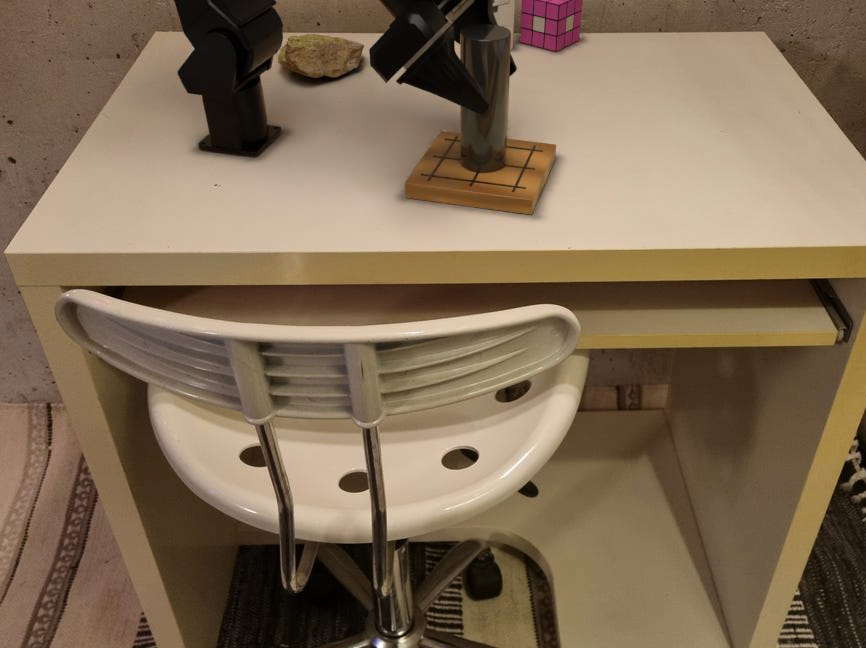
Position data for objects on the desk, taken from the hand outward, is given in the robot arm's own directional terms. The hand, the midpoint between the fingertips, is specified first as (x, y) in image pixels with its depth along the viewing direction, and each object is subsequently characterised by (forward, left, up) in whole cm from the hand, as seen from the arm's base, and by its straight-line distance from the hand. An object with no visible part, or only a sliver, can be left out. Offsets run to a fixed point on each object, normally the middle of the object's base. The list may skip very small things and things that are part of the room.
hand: (500, 91), depth 76 cm
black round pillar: (0, +2, -7) cm, 7 cm away
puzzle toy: (+40, +2, -9) cm, 41 cm away
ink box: (+38, +10, -9) cm, 40 cm away
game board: (0, +1, -9) cm, 9 cm away
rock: (+23, +27, -9) cm, 37 cm away
